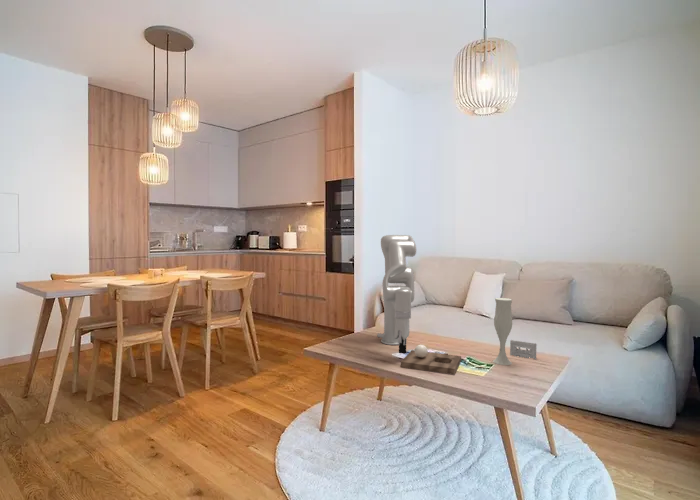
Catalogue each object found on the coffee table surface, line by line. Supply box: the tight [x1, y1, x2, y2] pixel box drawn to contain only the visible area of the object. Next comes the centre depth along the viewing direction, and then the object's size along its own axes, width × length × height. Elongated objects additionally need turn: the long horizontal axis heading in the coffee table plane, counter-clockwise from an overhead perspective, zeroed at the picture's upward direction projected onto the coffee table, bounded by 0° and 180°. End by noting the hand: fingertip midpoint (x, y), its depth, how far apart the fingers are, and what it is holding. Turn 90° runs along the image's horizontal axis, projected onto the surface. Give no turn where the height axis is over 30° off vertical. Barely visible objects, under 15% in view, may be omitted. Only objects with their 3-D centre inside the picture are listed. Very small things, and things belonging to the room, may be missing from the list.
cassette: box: [509, 339, 538, 360], centre depth 195 cm, size 12×2×8 cm, turn 56°
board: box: [400, 349, 462, 376], centre depth 183 cm, size 24×20×2 cm
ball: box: [414, 344, 429, 358], centre depth 185 cm, size 6×6×6 cm
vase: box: [492, 297, 513, 366], centre depth 186 cm, size 9×8×30 cm
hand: (402, 352), depth 189 cm, fingers closed
